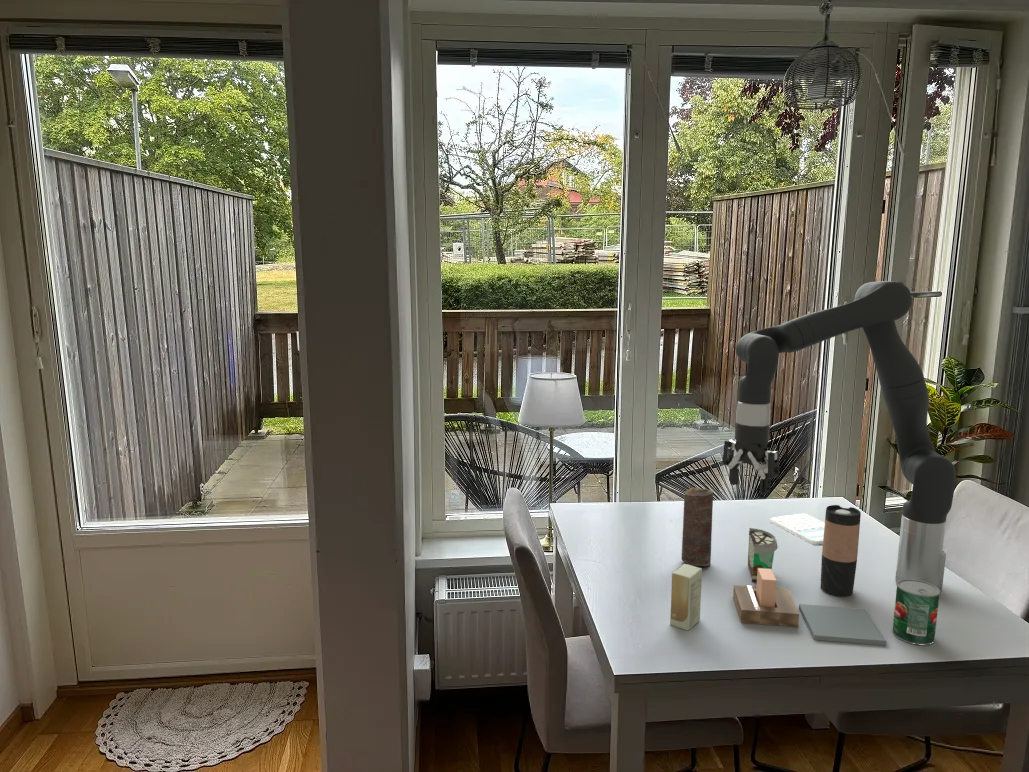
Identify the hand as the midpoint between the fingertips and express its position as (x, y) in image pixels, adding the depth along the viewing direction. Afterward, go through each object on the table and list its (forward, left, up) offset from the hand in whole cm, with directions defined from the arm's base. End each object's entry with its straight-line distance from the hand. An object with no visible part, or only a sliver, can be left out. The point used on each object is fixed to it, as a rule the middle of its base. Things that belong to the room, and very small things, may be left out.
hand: (748, 488), depth 169 cm
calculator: (-25, -43, -26) cm, 56 cm away
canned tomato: (-32, +17, -25) cm, 44 cm away
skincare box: (+15, +19, -25) cm, 35 cm away
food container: (-6, -9, -25) cm, 28 cm away
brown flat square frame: (-3, +11, -25) cm, 27 cm away
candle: (+10, -13, -25) cm, 30 cm away
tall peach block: (-3, +11, -25) cm, 27 cm away
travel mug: (-22, -3, -25) cm, 34 cm away
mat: (-18, +15, -25) cm, 34 cm away
